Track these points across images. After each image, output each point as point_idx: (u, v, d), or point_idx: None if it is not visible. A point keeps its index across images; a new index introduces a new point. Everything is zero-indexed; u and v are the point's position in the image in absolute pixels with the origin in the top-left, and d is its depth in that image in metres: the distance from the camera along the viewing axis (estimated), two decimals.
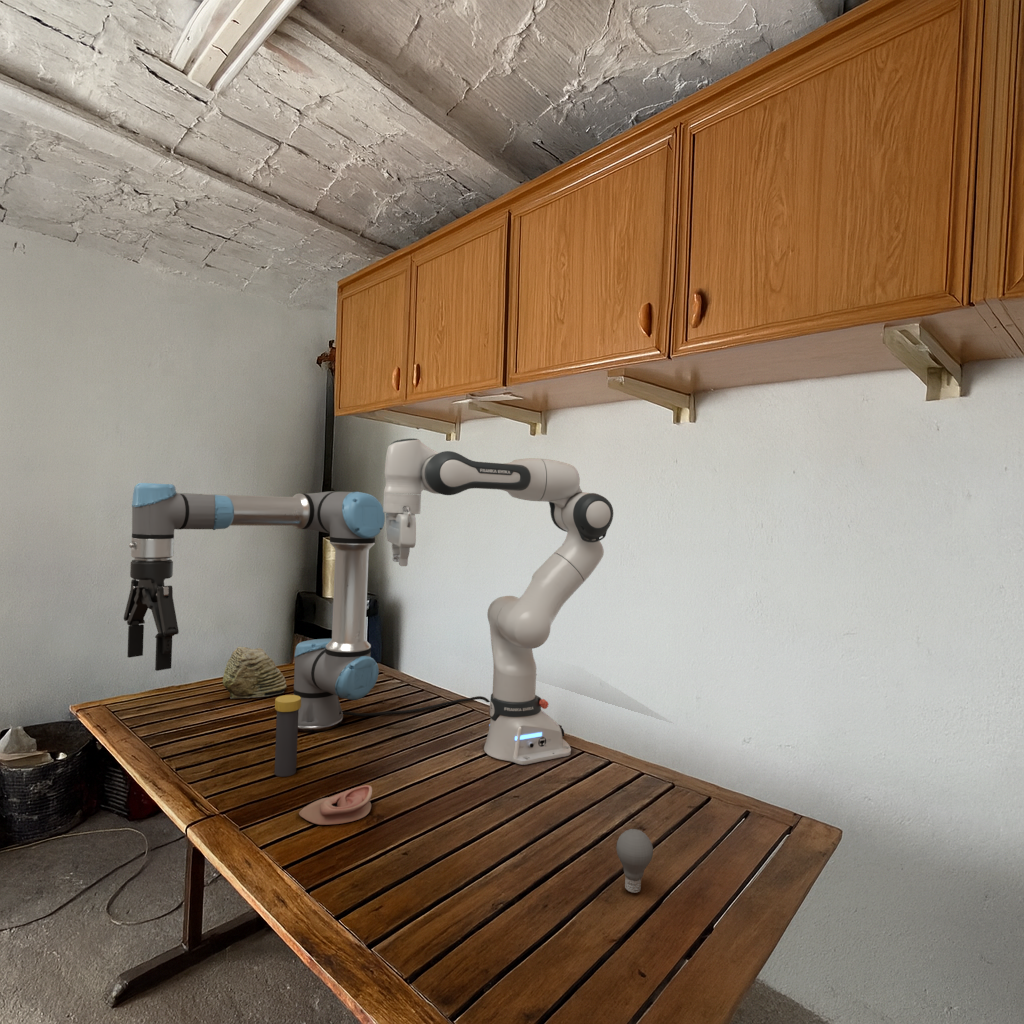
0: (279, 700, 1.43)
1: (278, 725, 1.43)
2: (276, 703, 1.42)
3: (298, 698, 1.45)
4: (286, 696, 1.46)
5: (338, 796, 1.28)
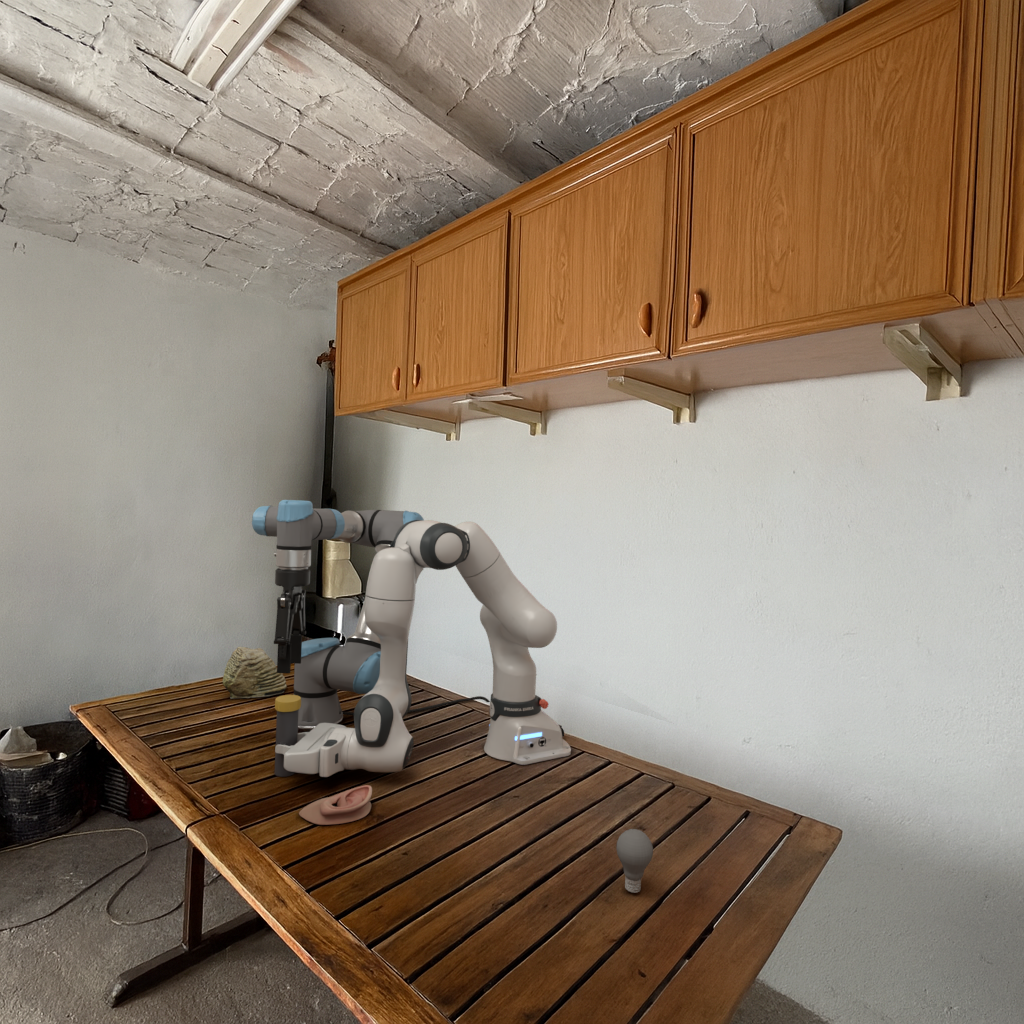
0: (279, 700, 1.43)
1: (278, 725, 1.43)
2: (276, 703, 1.42)
3: (298, 698, 1.45)
4: (286, 696, 1.46)
5: (338, 796, 1.28)
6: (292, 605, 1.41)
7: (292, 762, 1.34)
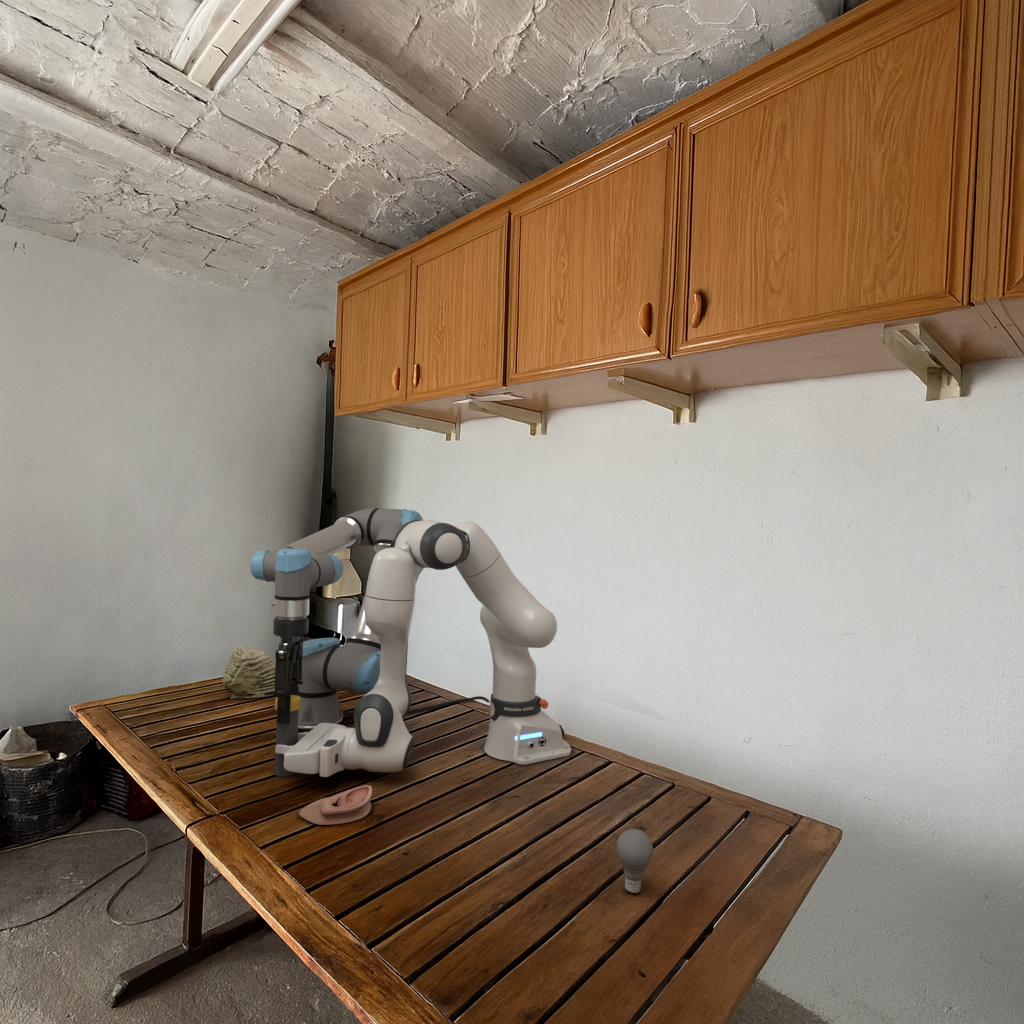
0: None
1: (278, 725, 1.43)
2: (276, 703, 1.42)
3: (298, 698, 1.45)
4: None
5: (338, 796, 1.28)
6: (290, 655, 1.42)
7: (292, 762, 1.34)
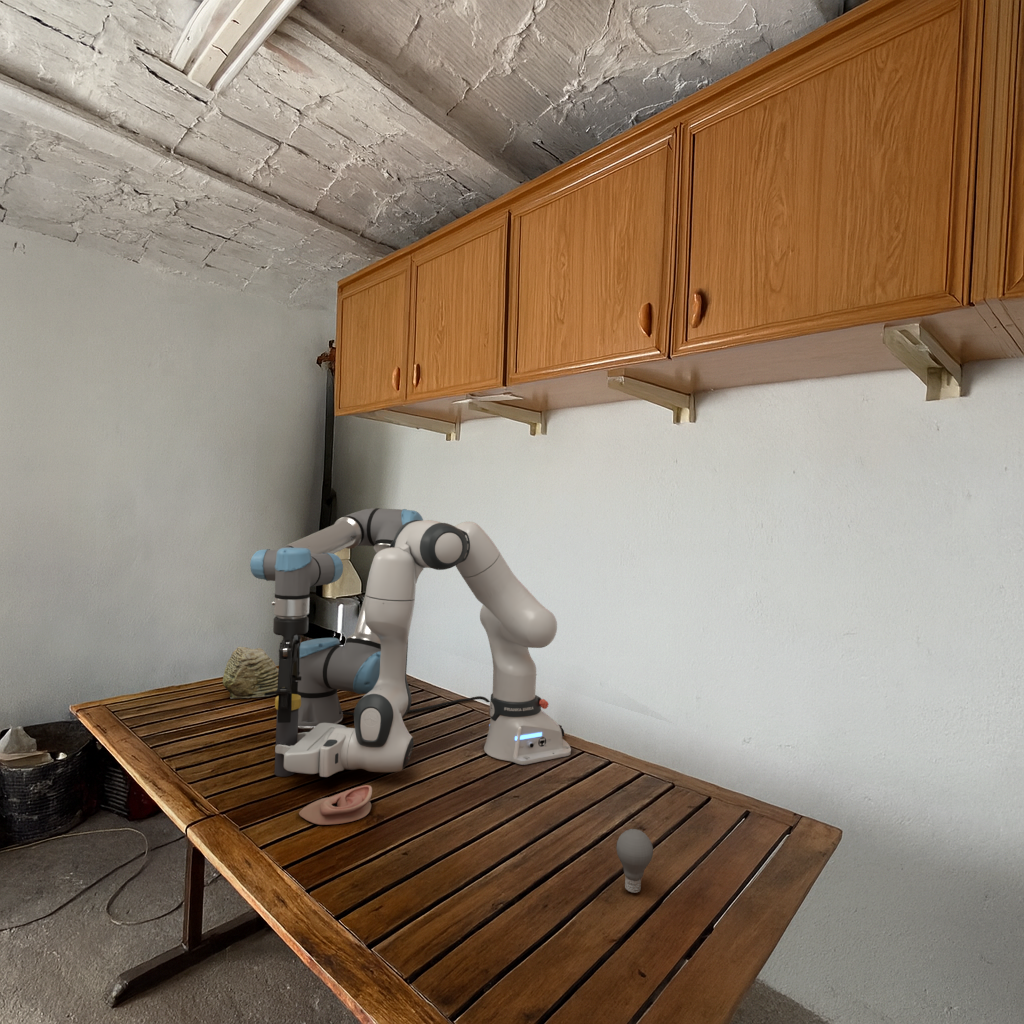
0: (292, 699, 1.43)
1: (278, 725, 1.43)
2: (293, 703, 1.42)
3: None
4: None
5: (338, 796, 1.28)
6: (292, 654, 1.42)
7: (292, 762, 1.34)
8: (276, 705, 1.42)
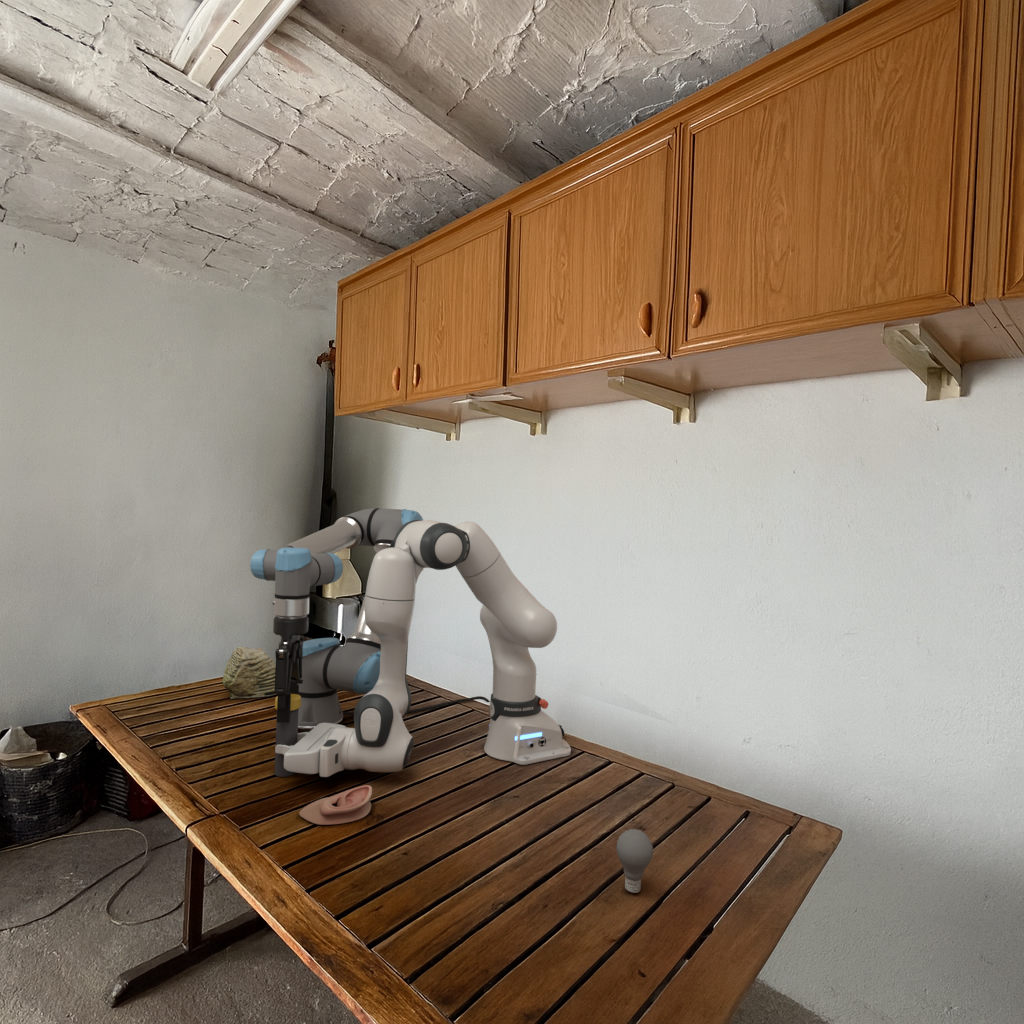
0: (292, 699, 1.43)
1: (278, 725, 1.43)
2: (293, 703, 1.42)
3: None
4: None
5: (338, 796, 1.28)
6: (290, 654, 1.42)
7: (292, 762, 1.34)
8: (276, 705, 1.42)
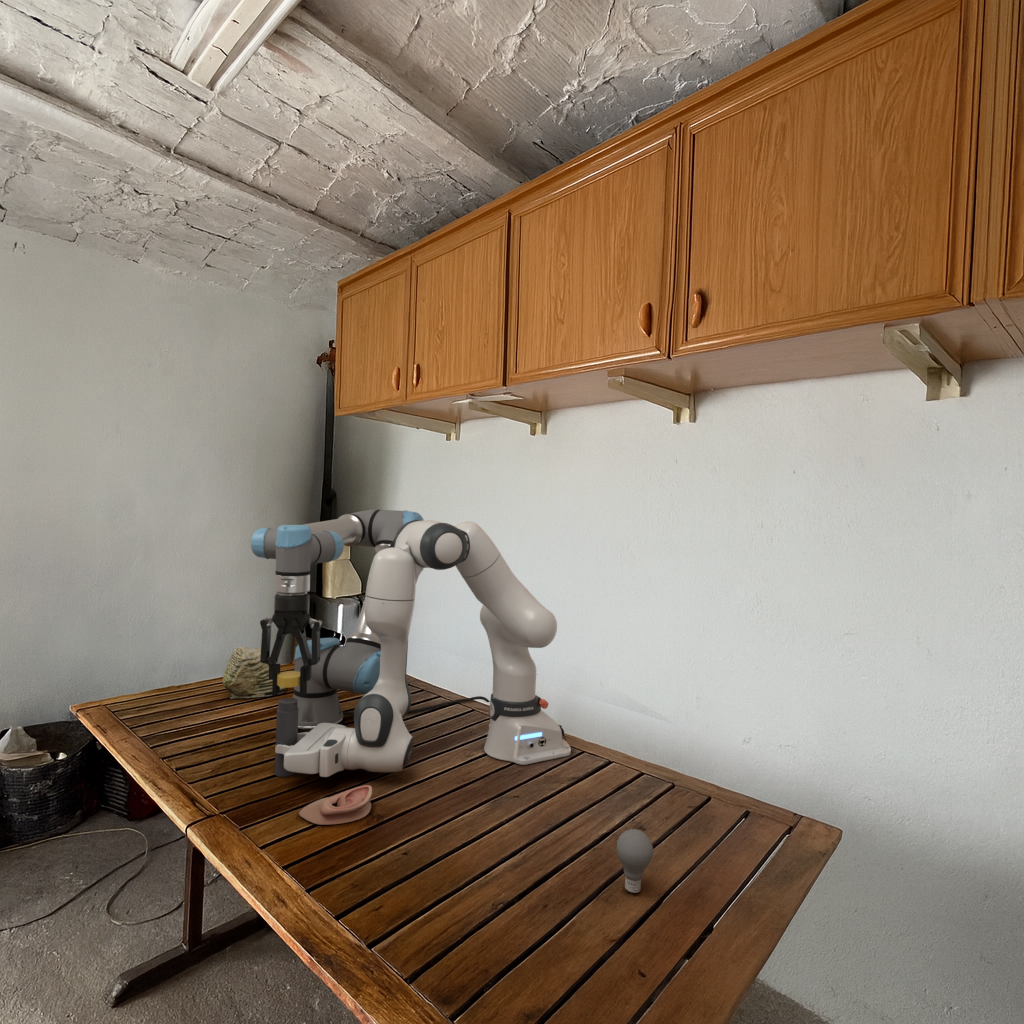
0: (298, 672, 1.46)
1: (278, 725, 1.43)
2: None
3: (279, 674, 1.44)
4: (291, 676, 1.43)
5: (338, 796, 1.28)
6: None
7: (292, 762, 1.34)
8: (295, 682, 1.43)
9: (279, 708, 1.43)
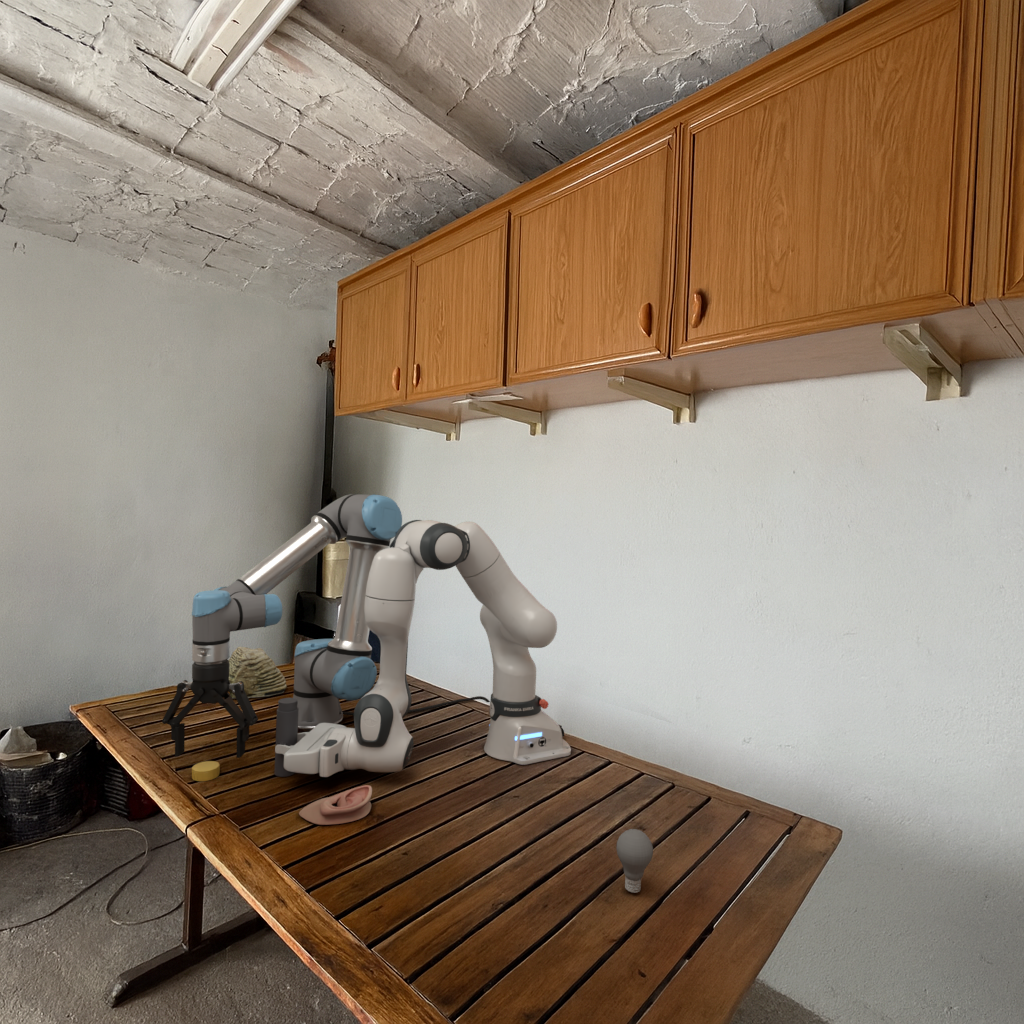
0: (215, 763, 1.43)
1: (278, 725, 1.43)
2: None
3: (195, 766, 1.41)
4: (206, 768, 1.40)
5: (338, 796, 1.28)
6: None
7: (292, 762, 1.34)
8: (210, 776, 1.39)
9: (279, 708, 1.43)
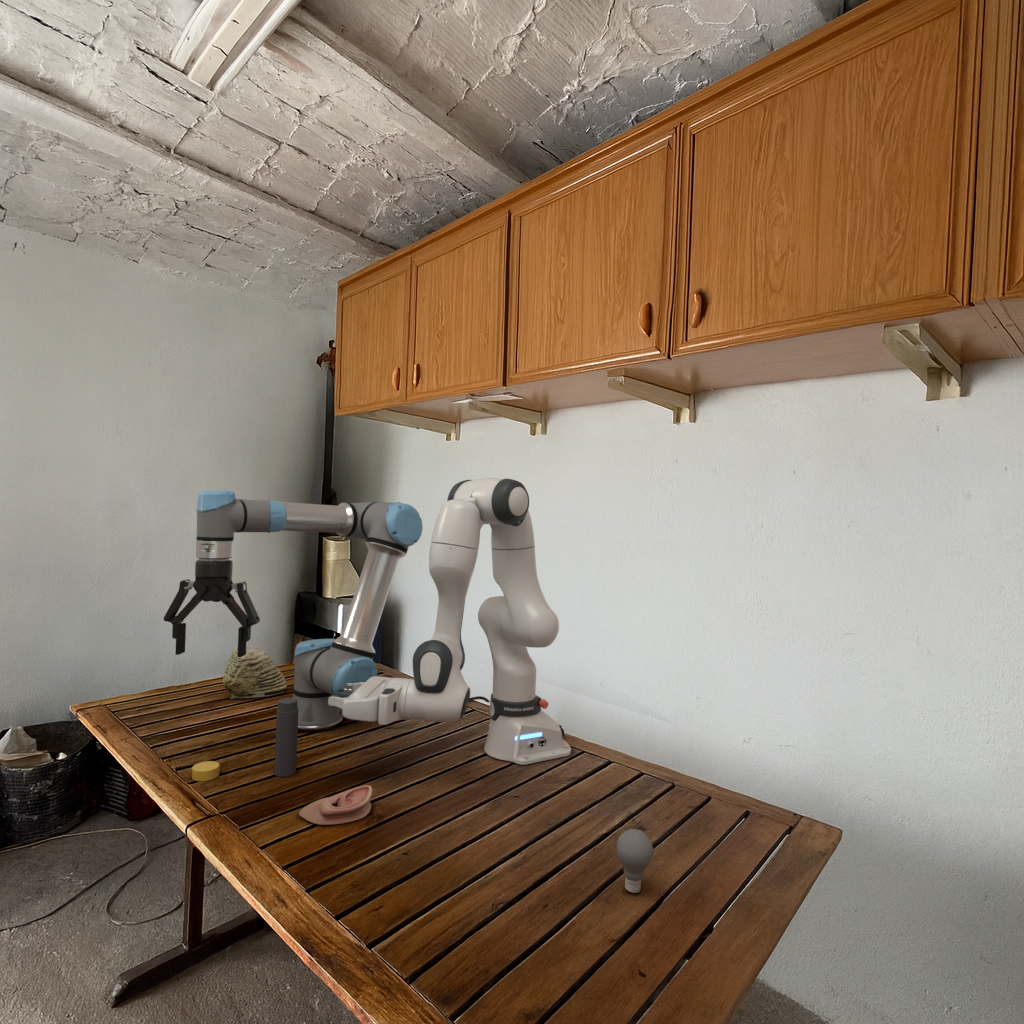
0: (215, 763, 1.43)
1: (278, 725, 1.42)
2: None
3: (195, 766, 1.41)
4: (206, 768, 1.40)
5: (338, 796, 1.28)
6: None
7: (351, 709, 1.33)
8: (210, 776, 1.39)
9: (279, 708, 1.43)
